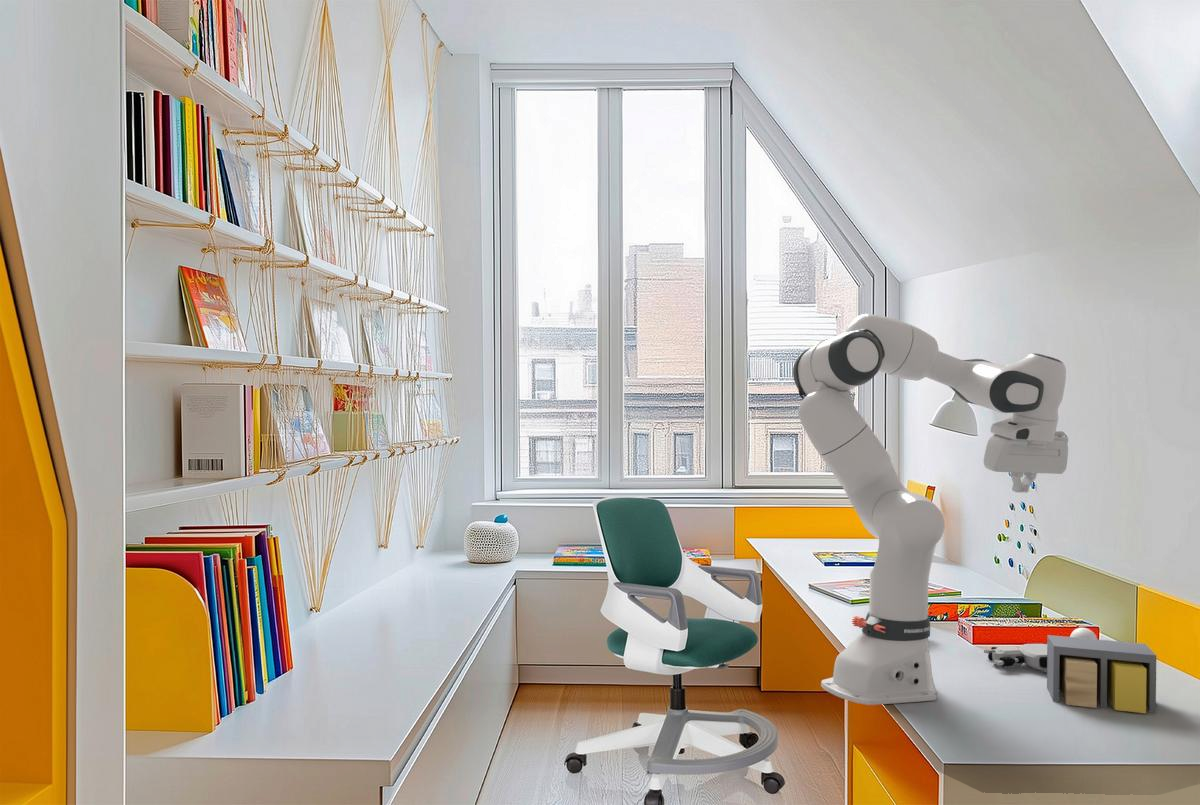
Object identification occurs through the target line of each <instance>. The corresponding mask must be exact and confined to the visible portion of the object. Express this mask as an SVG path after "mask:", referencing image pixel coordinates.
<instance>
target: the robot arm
mask: <svg viewBox="0 0 1200 805" xmlns="http://www.w3.org/2000/svg"><path fill="white" fill-rule="evenodd" d="M792 367H793V368H792V376H793V381H794V384H795V386H796V388H797V390H798V395H799V396H800V398H801V399H802V400H801V402H800V404H799V405H798V408H797V410H798V411H797V415H798V418H799V421H800V423H801V425H802V427H803V429H804V432H805V433H806V435H807V437H808V439H809V440H810V442H811V444H812V445H813V447H814V449H815V450H816V451H817V453H818V454H819V455H820V457H821V458H822V460H823V461H824V463H825V464H826V465H827V468H829V470H830V471H831V472H832V474H833V475H834V477H835V478H836V480H837V481H838V483H839V484H840V485H841V487H842V488H843V490H844V492H845V494H846V496H847V497H848V499H849V501H850V503H851V506H852V507H853V509H854V511H855V513H856V514H857V516H858V517H859V519H860V521H861V523H862V525H863V527H864V528H865V529H866V530H867V532H868V533H869V534H870V535H872V536H873V537H874V538H875V539H878V548H877V553H876V557H875V558H876V559H875V562H874V566H873V568H872V569H871V571H870V573H869V608H868V609H869V611H868V612H867V614H866V617H865V618H864V617H860V616H858V615H854V616H853V617H852V621H851V622H852V623H851V624H852V625H853V627H856V628H857V627H858V628H859V629H861V633H860V634H859V635H858V636H857V637H856V638H855V639H854V640H853V641H852V642H851V643H850V644H849V645H847V647H845V648H844V649H843V650H842V651H841V652H840V653H839V654H838V655H837V656H836V657H835V658H836V659H835V662H834V666H833V674H832V675H833V676H832V677H829V678H825V679H822V680H821V681H820V686H821V687H822V689H823V690H825V691H826V692H827V693H829V694H832V695H833V696H836V697H838V698H840V699H844V700H846V701H849V702H853V703H856V704H861V705H865V706H866V705H867V706H876V705H887V704H888V705H889V704H901V703H915V702H927V701H928V702H929V701H936V700H937V695H936V691H937V689H936V686H935V681H934V678H933V671H932V661H931V653H930V648H929V638H930V636H931V619H930V616H929V614H928V613H929V584H930V583H929V580H930V573H931V567H932V563H933V559H934V555H935V551H936V547H937V545H938V543H939V542H940V540H942V537H943V535H944V533H945V532H944V531H945V527H946V525H945V518H944V516H943V513H942V511H941V509H940V508H939V507H938V506H937V505H936V504H935V503H934V502H933V501H931V500H930V499H929V498H928V497H926V496H924V495H922V494H919V493H916V492H913V491H912V492H911V491H910V490H908V489H907V488H906V486H904V484H903V483H902V482H901V480H900V477H899V476H898V474H897V472H896V469H894V465H893V463H892V460H891V455H890V454H889V452H888V451H887V449H886V448H885V446H884V445H883V444H882V443H881V442H880V441H881V440H879V438H878V437H877V435H876V434H875V433H874V431H873V430H872V429H871V427H870V425H869V424H868V423H867V421H866V420H865V419H864V417H863V416H862V415H861V414H860V412H859V411H858V410H857V409H856V407H855V404H854V402H853V400H852V399H853V398H852V395H851V394H852V392H851V390H853V389H855V388H857V387H858V386H862V385H865V384H866V383H868V382H870V381H871V380H872V379H873V378H874V377H875V376H876V375H877V374H878V372H882V373H884V374H887V375H889V376H893V377H895V378H898V379H903V380H908V381H921V380H923V379H925V378H928V379H930V380H933V381H935V382H938V383H940V384H943V385H945V386H948V387H949V388H950V389H951V390H952V391H954V393H955V394H956V395H957V396H958V397H959V398H960V400H963V401H964V402H966V403H968V404H973V405H976V406H981V407H984V408H987V409H989V410H993V411H995V412H999V413H1002V414H1011V413H1012V417H1009V418H1006V419H1004V420H1000V421H998V422H995V423H994V422H993V423H992V424H991V426H990V433H991V434H993V435H991V436H990V437H989V438H988V440H987V442H986V443H987V444H986V446H985V451H984V456H983V465H984V468H986V469H987V470H990V471H992V472H996V473H1010V477H1011V480H1012V488H1011V489H1012V491H1013V492H1015V493H1025V494H1027V493H1029V491H1030V486H1031V485H1032V484H1033V482H1034V481H1035V479H1036V478H1037V474H1049V475H1050V474H1052V475H1053V474H1055V475H1058V474H1059V475H1062V474H1063V473H1064V472H1066V469H1067V464H1068V457H1069V445H1068V443H1069V437H1068V435H1067V434H1066V433H1065V432H1064V431H1057V426H1058V423H1059V408H1060V405H1061V403H1062V401H1063V398H1064V393H1065V387H1066V381H1067V380H1066V378H1067V370H1066V366H1065V364H1064V362H1063V361H1061V360H1060V359H1058V358H1055V357H1052V356H1049V355H1048V356H1047V355H1044V354H1040V353H1035V352H1033V353H1029V354H1028V355H1027V356H1026V357H1023V359H1021V360H1017V361H1016V362H1013V363H1010V364H1006V365H1001V364H997V363H994V362H991V361H988V360H986V359H981V358H971V359H960V358H957V357H954V356H952V355H950V354H947V353H945V352H943V351H940V349H939V344H938V341H937V340H936V338H935V337H934V336H933V335H931V334H929V333H927V332H926V331H924V330H923V329H921V328H919V327H917V326H914V325H912V324H910V323H907V322H904V321H902V320H898V319H895V318H893V317H887V316H884V315H878V314H873V313H864V314H861V315H858V316H856V317H855V318H854V319H853V320H852V321H851V322H850V323H849V324H848V326H847V329H846V330H845V332H842V333H841V334H838V335H836V336H833V337H831V338H826V339H823V340H822V341H819V342H818V343H816V344H814V345H813V346H811V347H810V348H807V349H805V350H804V351H803V352H802V353H800V354H799V356H798V357H797V358H796V360H795V362H794V364H793V366H792ZM1023 477H1024V478H1023ZM1022 478H1023V479H1022Z"/></svg>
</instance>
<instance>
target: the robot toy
mask: <svg viewBox="0 0 1200 805" xmlns="http://www.w3.org/2000/svg"><path fill="white" fill-rule="evenodd" d="M983 653H984V654H987V658H988V661H990V662H991V663H992V664H995V665H997V666H1001V667H1002V668H1003V669H1004V668H1005V669H1013V668H1016V667H1017V668H1018V667H1022V665H1026V666H1028V667H1031V668H1033V669H1038V670H1039V671H1040V672H1043V673H1047V643H1025V644H1021V646H1020V647H1019V648H1018V647H1017V646H1014V645H1013V646H1009V645H999V646H998V647H997V646H991V648H984V649H983Z"/></svg>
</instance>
